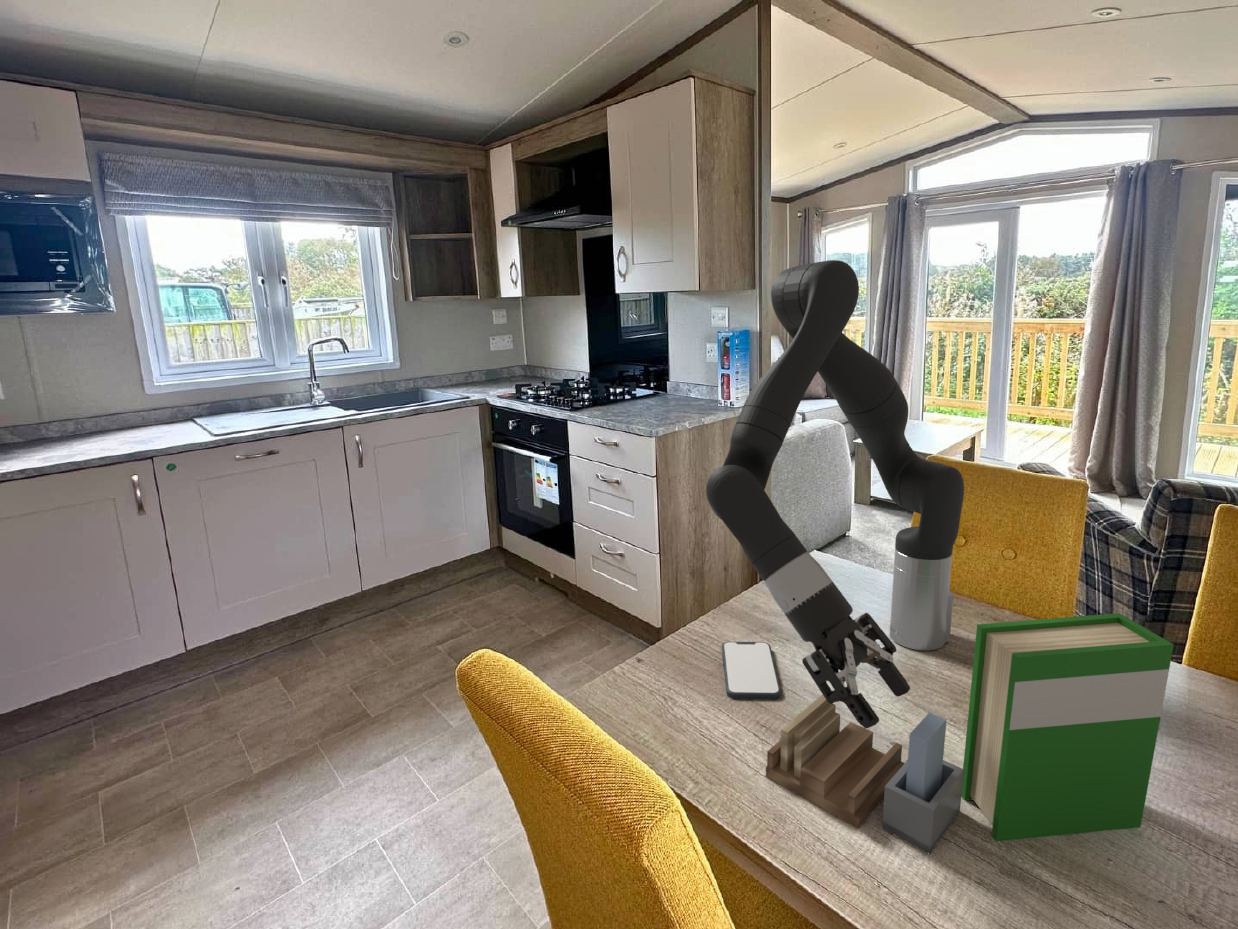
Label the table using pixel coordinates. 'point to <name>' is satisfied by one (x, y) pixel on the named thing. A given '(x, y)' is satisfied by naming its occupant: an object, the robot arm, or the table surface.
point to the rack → (842, 774)
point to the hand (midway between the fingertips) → (889, 708)
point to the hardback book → (1063, 724)
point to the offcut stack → (808, 734)
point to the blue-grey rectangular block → (926, 757)
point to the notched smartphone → (750, 671)
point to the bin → (922, 808)
